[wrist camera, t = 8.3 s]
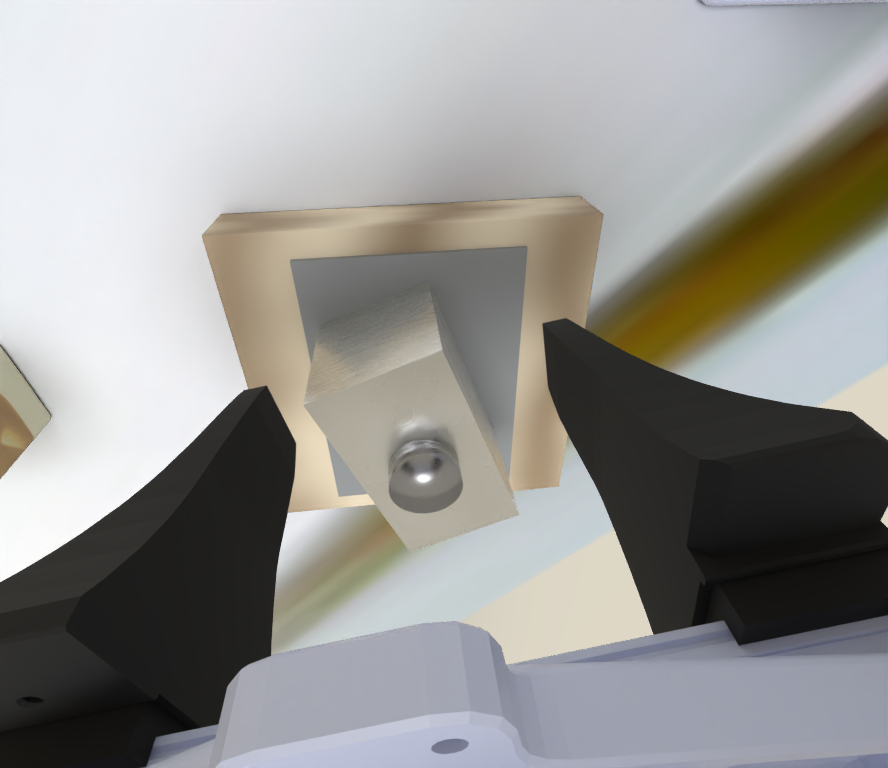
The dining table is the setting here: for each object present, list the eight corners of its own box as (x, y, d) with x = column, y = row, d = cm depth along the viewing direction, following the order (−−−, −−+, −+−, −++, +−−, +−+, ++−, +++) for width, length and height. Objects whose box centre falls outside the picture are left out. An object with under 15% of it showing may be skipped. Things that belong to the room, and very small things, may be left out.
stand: (580, 196, 20) (605, 215, 18) (545, 453, 28) (560, 489, 26) (220, 214, 19) (199, 237, 16) (293, 476, 27) (285, 515, 24)
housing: (428, 280, 18) (446, 369, 13) (494, 429, 23) (525, 536, 18) (319, 326, 19) (298, 426, 14) (404, 462, 23) (411, 574, 18)
